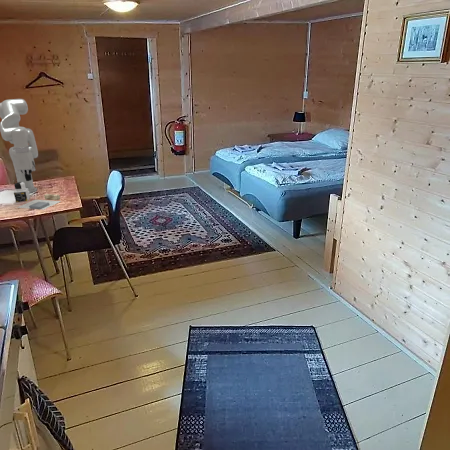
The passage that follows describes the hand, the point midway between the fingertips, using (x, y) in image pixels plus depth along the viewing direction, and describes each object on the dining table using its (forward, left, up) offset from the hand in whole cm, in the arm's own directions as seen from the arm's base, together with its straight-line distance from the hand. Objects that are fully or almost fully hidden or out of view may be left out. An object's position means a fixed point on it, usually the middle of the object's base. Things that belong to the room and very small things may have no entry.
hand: (29, 180), depth 245 cm
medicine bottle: (-16, +8, -17) cm, 25 cm away
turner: (+5, +13, -17) cm, 22 cm away
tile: (+1, -2, -15) cm, 15 cm away
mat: (+2, +2, -16) cm, 17 cm away
